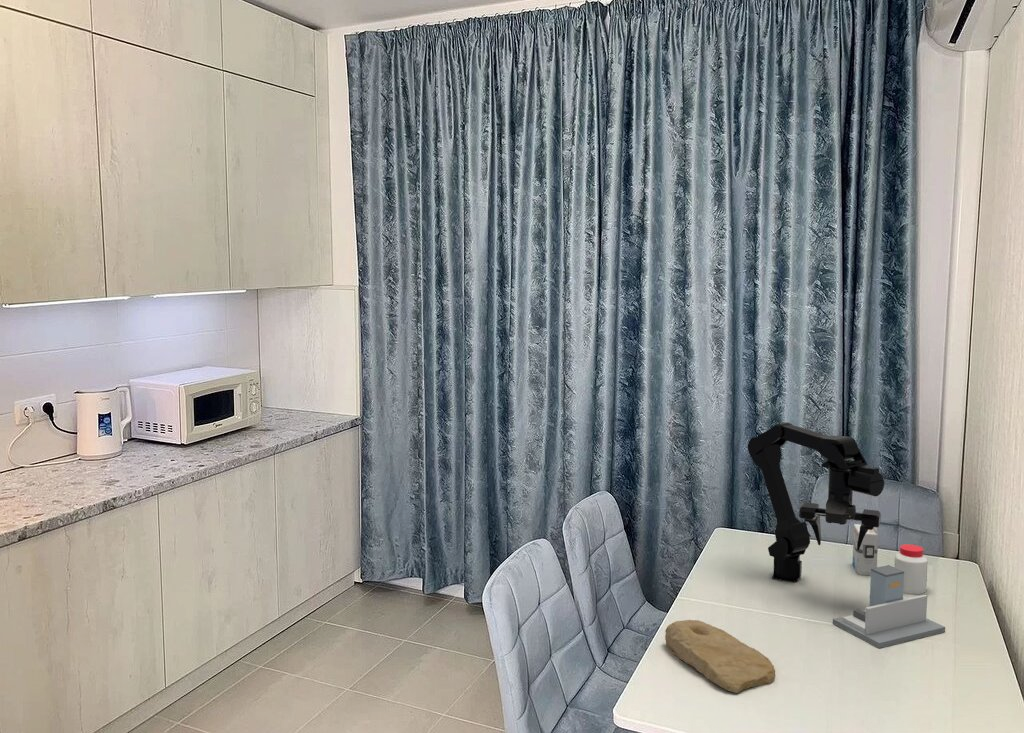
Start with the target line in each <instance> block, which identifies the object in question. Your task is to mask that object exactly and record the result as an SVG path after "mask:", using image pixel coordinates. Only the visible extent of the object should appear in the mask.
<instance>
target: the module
mask: <svg viewBox="0 0 1024 733" xmlns="http://www.w3.org/2000/svg"><path fill="white" fill-rule="evenodd" d="M869 583H870V589H869V607H871V606H875V605H880V604H884V603H889V602H893V601H898V600H902V599H904V593H903V588H904V571H902V570H900V569H897V568H895V567H894V566H892V565H889V564H888V565H882V566H877V568H872V569H871V575H870V582H869Z"/></svg>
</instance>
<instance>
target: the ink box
mask: <svg viewBox="0 0 1024 733" xmlns="http://www.w3.org/2000/svg"><path fill="white" fill-rule="evenodd" d="M860 526H861V524H857V523H854V524H853V539H852V540H853V541H852V542H853V543H852V544H853V545H852V566H853V567H854V569H855V572H856V573H857V575H858V574H859V576H871V569H872V568H877V567H878V548H879V547H878V546H879V527H874V528H873V530H868V531H867V533H866V534H865V536H864V538H863V541H862V544H861V546H860V549H859V551H857V543H858V537H859V532H860Z"/></svg>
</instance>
